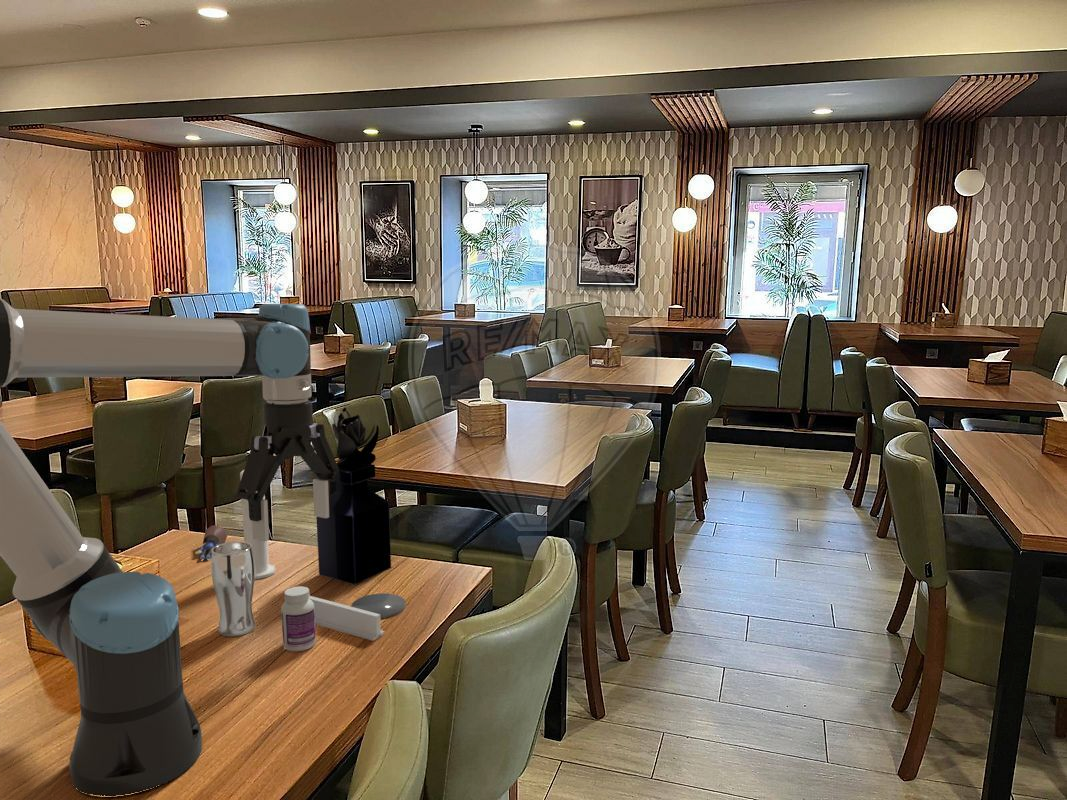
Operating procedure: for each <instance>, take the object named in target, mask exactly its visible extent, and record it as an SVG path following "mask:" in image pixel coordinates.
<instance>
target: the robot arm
mask: <svg viewBox="0 0 1067 800" xmlns="http://www.w3.org/2000/svg"><path fill="white" fill-rule="evenodd" d="M257 315H258V316H252V317H222V318H221V317H217V318H215V317H214V318H212V317H211V318H209V317H205V318H202V317H201V318H199V317H180V316H179V317H178V316H164V315H163V316H162V315H161V316H160V315H143V314H142V315H141V314H139V315H137V314H126V313H125V314H124V313H123V314H122V313H121V314H120V313H104V312H103V313H101V312H83V311H63V310H62V311H61V310H44V309H43V310H42V309H25V308H23V309H21V308H14V307H13V306H12V305H10V304H9V303H8V302H7V301H6V300H4V298H3V299H2V298H0V388H4V387H6V386H8V385H9V384H10V383H11V382H12V381H13V380H14V379H16V378H19V379H20V378H21V379H22V378H106V377H107V378H108V377H110V378H112V377H113V378H117V377H118V378H120V377H122V378H123V377H124V378H125V377H127V378H128V377H129V378H130V377H131V378H132V377H133V378H134V377H143V378H144V377H226V376H227V377H228V376H229V377H231V376H232V377H262V378H261V380H262V381H261V382H262V398H263V400H265V402H264V404H263V406H262V407H263V422H264V425H265V426H266V428H267V433H266V435H264V436H261V435H252V436H251V438H250V450H249V454H248V457H247V460H246V464H245V466H244V469H243V470H244V472H243V475H242V478H241V481H240V482H239V484H238V489H237V491H236V494H235V495H236V498H237V499H241V500H242V499H246V500H248V504H249V518H250V520H251V521H252V529H253V539H257V540H261V541H267V542H269V541H270V530H269V529H270V527H269V509H268V508H269V506H268V499H266V498H265V499H263V497H264V495H266V493H267V491H268V489H269V488H270V485H271V484H272V482H273V480H274V478H275V476H276V474H277V473H278V470H279V468H280V467H281V465H282V464H285V461H286V460H290V459H292V458H294V457H300V458H301V459H302V460H303V462H305V464H306V465H307V466H308V468H309V469H310V470H311V471H312V472H313V474H314V475H315V476H316V478H314V479H312V488H313V490H312V492H313V493H312V494H313V514H314V515H313V516H314V517H321V518H329V496H330V495H331V481H330V480H334V479H335V474H334V473H338V471H339V468H338V465H337V461H336V459H335V455H334V454H333V451H332V449H331V447H330V445H329V441H328V440H327V437H326V433H325V425H324V424H322V423H315V422H314V417H313V415H314V414H313V413H314V412H313V402H312V400H310V398H311V397H312V395H313V394H312V369H311V368H312V365H311V362H312V361H311V359H312V358H311V357H312V356H311V334H312V333H311V325H310V317H309V310H308V308H307V306H306V305H304V304H302V303H264V304H261V305H260V306H259V309H258V314H257ZM246 490H247V491H246ZM257 491H258V492H257ZM256 492H257V493H256ZM0 557H1V558H2V559H3V561H4V562H5V564H6V565H7V566H8V568H10V570H11V571H12V573H13V574H14V575H15V578H16V579H15V581H14V584H13V587H12V595H13V596H14V598H15V599H16V600H17V602H18V603H19V604H20V606H21V607H22V608H23V609H24V610H25V612H26V613H27V615H28V616H29V617H28V618H30V619H31V624H32V625H33V628H34V629H35V630H36V631H37V632H38V633H39V635H41V636H42V637H43V638H45V639H46V640H47V641H49V642H50V643H51V644H52V645H53V646H54V647H55V648H56V649H57V650H58V651H59V652H60V653H61V654H62V655H63V656H64V657H65V658H66V659H67V660H68V661H69V662H70V663H72V665H73V666H74V668H75V671H76V673H75V674H76V679H77V680H76V681H77V688H78V689H77V690H78V698H79V707H80V720H79V722H78V723H79V724H78V727H77V730H76V734H75V740H74V743H73V747H72V751H71V753H70V757H69V764H68V765H69V776H70V783H71V782H72V783H71V785H72V784H73V785H74V786H75V788H77V789H78V790H79V791H81V792H84V793H87V794H93V795H100V796H101V795H102V796H104V795H105V796H116V795H125V794H131V793H135V792H140V791H143V790H146V789H150V788H153V787H156V786H158V785H161V784H163V783H165V784H167V783H169V782H171V781H173V780H175V779H176V778H178V777H179V776H181V775H182V774H183V773H185V772H186V771H187V770H189V769H190V768H191V767H192V766H193V765H194V764H195V763H196V761H197V760H198V759H199V757H200V755H201V753H202V751H203V736H202V728H201V724H200V723H199V721H198V719H197V717H196V713H194V710H193V708H192V706H191V704H190V702H189V700H188V699H187V696H186V694H185V692H184V691H185V690H184V681H183V667H182V665H183V664H182V652H181V638H180V636H181V635H180V623H179V617H180V611H179V610H180V608H179V606H178V601H177V600H176V599H177V598H176V593H175V589H174V587H173V585H172V584H170V582H169V581H168V580H166V579H165V578H163V577H162V576H160V575H157V574H154V573H150V572H146V573H141V572H139V571H124V572H123V570H122V569H121V567H120V566H119V565H118V563H117V562H116V560H115V559H114V557H113V556H112V554H111V553H110V551H109V550H108V549H107V547H106V546H105V545H104V543H103V542H102V540H101V539H99V538H96V537H95V538H94V537H88V536H87V537H85V536H82V534H81V533H80V531H79V530H78V528H77V527H76V525H75V524H74V522H73V521H72V520H71V518H70V517H69V516H68V513H66V511H65V510H64V509H63V507H62V506H61V504H60V503H59V501H58V500H57V499H56V497H55V496H54V494H53V493H52V491H51V490H50V489H49V487H48V485H47V484H46V483H45V482H44V480H43V478H41V476H40V474H39V473H38V472H37V470H36V468H35V467H34V466H33V465H32V463H31V461H30V460H29V459H28V457H27V456H26V455H25V453H24V452H23V450H22V449H21V448H20V446H19V444H17V442H16V440H15V439H14V438H13V437H12V435H11V433H10V432H9V430H8V429H7V427H6V426H5V425H4V423H3V422H2V420H0ZM175 777H176V778H175ZM174 778H175V779H174ZM172 779H173V780H172ZM170 780H171V781H170ZM168 781H169V782H168ZM166 782H167V783H166ZM73 785H72V786H73ZM163 785H164V784H163ZM74 786H73V787H74ZM161 786H162V785H161ZM75 788H74V789H75ZM156 788H157V787H156ZM78 790H77V791H78ZM79 791H78V792H79ZM81 792H80V793H81Z"/></svg>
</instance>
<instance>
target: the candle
mask: <svg viewBox="0 0 1067 800" xmlns="http://www.w3.org/2000/svg"><path fill="white" fill-rule="evenodd" d="M243 472H244V469H243V470H241V471H240V473H239V479H240V481H241V478H242V475H243ZM246 491H247V490H246ZM257 492H258V491H257ZM257 492H256V493H257ZM265 495H266V494H265ZM265 495H264V497H263V499H265V500H266V496H265ZM241 510H242V511H241V513H242V525H243V526H242V527H243V529H242V530H243V542H248V543H250V544H251V545H252V552H253V558H254V568H255V578H254V580H262V579H266V578H269V577H270V576H271V577H272V575H274V574H275V573H276V571H277V570H276V566H275V565H274V564H270V563H269V562H270V561H269V560H270V559H269V547H268V546H269V543H268V542H269V541H261V540H257V539H253V529H252V521H251V520H250V518H249V504H248V500H246V499H241Z"/></svg>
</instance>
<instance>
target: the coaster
mask: <svg viewBox="0 0 1067 800" xmlns="http://www.w3.org/2000/svg"><path fill="white" fill-rule="evenodd" d="M406 603H407V602H406V599H405V598H404V597H402V596H401V595H398V594H394V593H385V592H384V593H373V594H369V595H364V596H362V597H359V598H357V599H355V600H354V601H353V602H352V604H351V606H350V607H354V608H358V609H362V610H365V611H369V612H373V613H377V614H380V620H381V619H386V618H391V617H394V616H397V615H398V614H401V613H402V612H403V611H404V610H405V608H406Z"/></svg>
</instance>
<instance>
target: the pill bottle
mask: <svg viewBox="0 0 1067 800" xmlns="http://www.w3.org/2000/svg"><path fill="white" fill-rule="evenodd" d="M310 596H311V595H310V589H309V588H308V587H307V586H295V587H289V588H288V589H286V590H285V591H284V596H283V597H284V603H283V604H282V606H281V608H280V613H281V631H282V643H283V648H284V649H285V650H286V651H289V652H302V651H306V650H308V649H311V648H312V647H314V646H315V645H316V642H317V639H316V638H317V637H316V635H317V634H316V624H315V611H314V603H313V601H312V600H310V599H309V597H310Z"/></svg>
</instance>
